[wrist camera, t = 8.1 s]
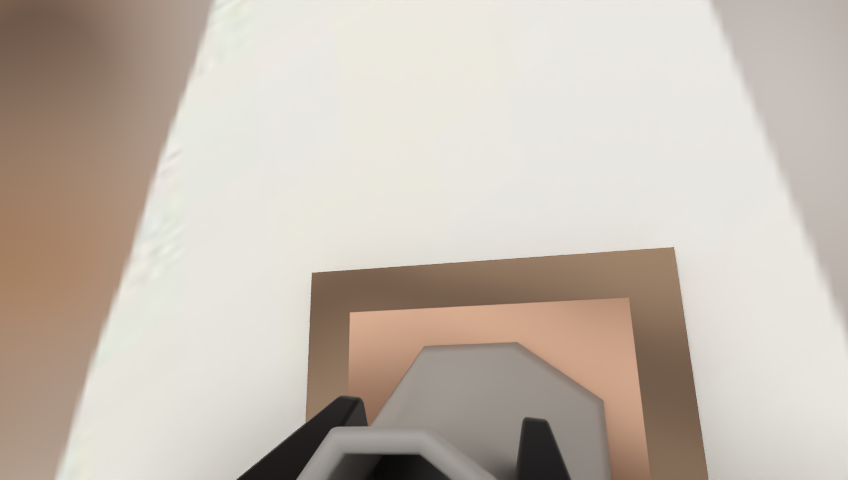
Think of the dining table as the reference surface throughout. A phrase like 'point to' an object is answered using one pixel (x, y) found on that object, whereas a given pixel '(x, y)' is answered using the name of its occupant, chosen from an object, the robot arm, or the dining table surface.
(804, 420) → the dining table surface
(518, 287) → the walnut board
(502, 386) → the flask
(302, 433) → the robot arm
